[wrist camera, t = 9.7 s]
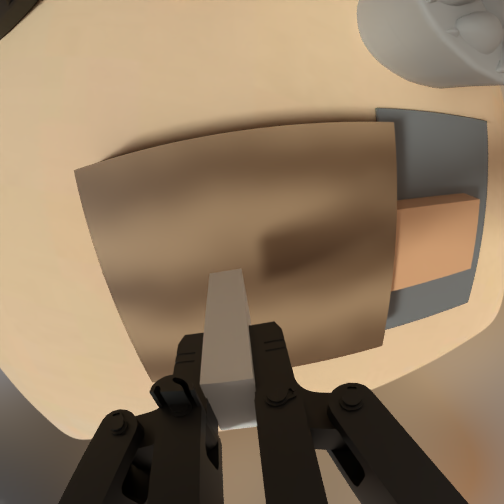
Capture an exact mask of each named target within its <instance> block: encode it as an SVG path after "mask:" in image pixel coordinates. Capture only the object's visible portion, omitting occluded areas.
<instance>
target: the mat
mask: <svg viewBox="0 0 504 504" xmlns="http://www.w3.org/2000/svg"><path fill="white" fill-rule="evenodd" d="M375 111H376V120H377V122H394V129H395V143H396V162H397V200H404V199H413V198H422V197H431V196H440V195H450V194H460V193H465V194H468V195H470V196H473V197H475V198H478V199H480V204H479V216H478V225H477V233H476V240H475V247H474V253H473V259H472V264H471V269H468V270H464V271H461V272H458V273H455V274H452V275H448V276H445V277H442V278H438V279H435V280H432V281H428V282H425V283H421V284H417V285H414V286H410V287H407V288H403V289H399V290H395V291H391V294H390V302H389V309H388V315H387V321H386V327H385V330H386V329H390V328H393V327H397V326H400V325H404V324H407V323H410V322H413V321H416V320H420V319H423V318H426V317H429V316H432V315H435V314H437V313H440V312H443V311H446V310H449V309H452V308H454V307H457V306H460V305H462V304H465V303H467V302H468V300H469V296H470V292H471V289H472V285H473V280H474V276H475V272H476V267H477V262H478V257H479V252H480V246H481V240H482V234H483V226H484V218H485V209H486V198H487V182H488V135H487V121H484V120H479V119H473V118H468V117H462V116H456V115H449V114H442V113H434V112H425V111H415V110H403V109H386V108H375Z"/></svg>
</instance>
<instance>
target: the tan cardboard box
mask: <svg viewBox="0 0 504 504" xmlns="http://www.w3.org/2000/svg"><path fill="white" fill-rule="evenodd" d="M479 204H480V199H478V198H475V197H473V196H470V195H468V194H465V193H460V194H450V195H440V196H431V197H422V198H413V199H404V200H397V223H396V242H395V256H394V268H393V277H392V286H391V291H395V290H399V289H403V288H407V287H410V286H414V285H417V284H421V283H425V282H428V281H432V280H435V279H438V278H442V277H445V276H448V275H452V274H455V273H458V272H461V271H464V270H468V269H471V264H472V259H473V253H474V247H475V240H476V233H477V225H478V216H479Z"/></svg>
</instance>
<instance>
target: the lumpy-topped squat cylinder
mask: <svg viewBox="0 0 504 504" xmlns="http://www.w3.org/2000/svg"><path fill="white" fill-rule="evenodd" d="M357 23H358V29H359V33H360V36H361V38H362V40H363V42H364V44H365V46H366V47H367V49H368V50H369V52H370V53H371V54H372V55H373V57H374V58H375V59H376V60H377V61H378V62H380V63H381V64H382V65H383V66H384V67H386V68H387V69H389V70H390V71H392V72H393V73H395V74H397V75H398V76H400V77H402V78H404V79H406V80H408V81H410V82H413V83H416V84H420V85H424V86H428V87H433V88H451V87H465V86H489V85H504V0H359V1H358V5H357Z"/></svg>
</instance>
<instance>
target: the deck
mask: <svg viewBox="0 0 504 504" xmlns="http://www.w3.org/2000/svg"><path fill="white" fill-rule="evenodd" d="M74 173H75V178H76V182H77V187H78V191H79V195H80V199H81V203H82V207H83V211H84V214H85V218H86V222H87V225H88V229H89V232H90V235H91V239H92V242H93V245H94V248H95V251H96V254H97V257H98V260H99V263H100V266H101V269H102V272H103V274H104V277H105V280H106V283H107V285H108V288H109V290H110V293H111V295H112V298H113V300H114V303H115V305H116V308H117V310H118V313H119V315H120V317H121V320H122V322H123V324H124V326H125V329H126V331H127V333H128V335H129V337H130V339H131V342H132V344H133V346H134V348H135V350H136V352H137V354H138V356H139V358H140V360H141V362H142V364H143V366H144V368H145V370H146V372H147V374H148V375H149V377H150V379H151V381H152V382H156V381H157V380H159V379H161V378H163V377H165V376H168V375H173V371H174V365H175V359H176V356H177V348H178V344H179V342H180V341H181V339H182V338H183V337H184V335H188V334H196V333H204V325H205V314H206V304H207V294H208V285H209V275H210V273H217V272H223V271H229V270H236V269H242V274H243V280H244V285H245V291H246V296H247V302H248V307H249V313H250V319H251V325H255V324H261V323H267V322H273V321H275V322H276V323H277V324H278V325H279V326H280V327H281V328H282V331H283V335H284V339H285V343H286V347H287V351H288V355H289V358H290V362H291V366H292V367H295V366H301V365H306V364H311V363H315V362H320V361H325V360H329V359H333V358H338V357H342V356H346V355H350V354H354V353H358V352H362V351H365V350H369V349H372V348H376V347H380V346H382V344H383V339H384V333H385V327H386V321H387V315H388V309H389V302H390V294H391V286H392V277H393V268H394V256H395V242H396V223H397V162H396V143H395V129H394V122H328V123H309V124H295V125H284V126H274V127H265V128H256V129H248V130H241V131H234V132H227V133H221V134H215V135H209V136H204V137H198V138H193V139H188V140H183V141H178V142H174V143H169V144H165V145H160V146H156V147H152V148H148V149H144V150H140V151H136V152H132V153H129V154H125V155H121V156H118V157H114V158H111V159H108V160H104V161H101V162H98V163H95V164H92V165H89V166H85V167H82V168H80V169H77V170H74Z"/></svg>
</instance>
